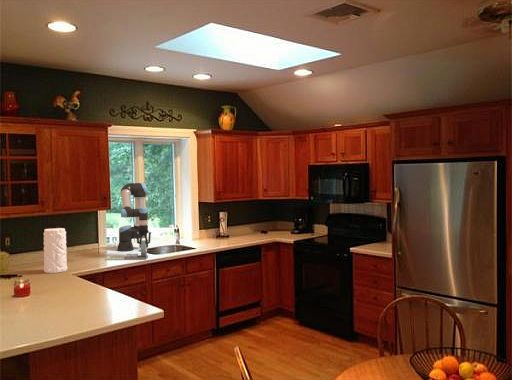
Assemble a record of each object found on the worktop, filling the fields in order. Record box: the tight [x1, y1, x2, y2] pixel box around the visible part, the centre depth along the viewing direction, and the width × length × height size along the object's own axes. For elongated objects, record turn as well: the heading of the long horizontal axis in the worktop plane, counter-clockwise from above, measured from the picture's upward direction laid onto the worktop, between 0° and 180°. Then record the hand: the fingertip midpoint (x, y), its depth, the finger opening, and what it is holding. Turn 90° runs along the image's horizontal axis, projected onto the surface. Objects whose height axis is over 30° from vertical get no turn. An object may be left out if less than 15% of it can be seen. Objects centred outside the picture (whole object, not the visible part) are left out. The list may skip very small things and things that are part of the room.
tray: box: [104, 255, 126, 261], centre depth 381 cm, size 11×16×3 cm
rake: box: [140, 239, 148, 255], centre depth 393 cm, size 5×4×14 cm
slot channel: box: [123, 254, 149, 261], centre depth 381 cm, size 9×18×3 cm, turn 91°
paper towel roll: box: [42, 227, 68, 274], centre depth 340 cm, size 17×16×32 cm
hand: (143, 251), depth 393 cm, fingers closed on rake, 3 cm apart
